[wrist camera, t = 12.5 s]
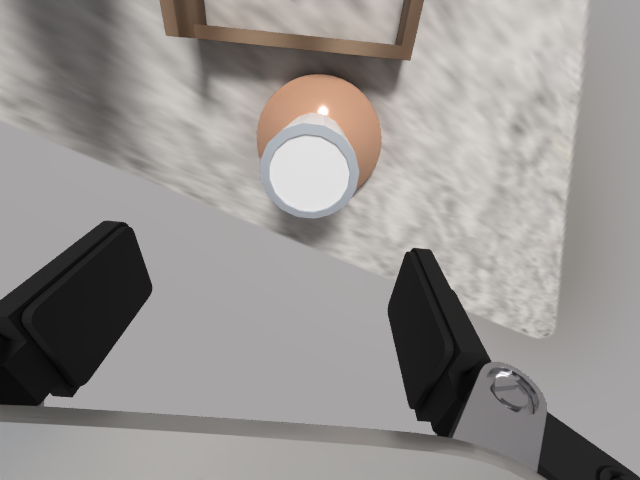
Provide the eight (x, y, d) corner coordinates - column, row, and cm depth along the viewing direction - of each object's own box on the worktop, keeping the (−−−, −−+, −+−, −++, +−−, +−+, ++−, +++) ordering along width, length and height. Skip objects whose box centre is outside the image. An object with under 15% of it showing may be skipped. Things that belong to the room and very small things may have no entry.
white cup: (282, 185, 27) (269, 222, 21) (269, 108, 23) (248, 128, 18) (353, 180, 27) (360, 216, 21) (351, 100, 23) (358, 118, 17)
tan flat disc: (261, 192, 29) (259, 196, 28) (256, 66, 23) (254, 67, 22) (367, 202, 29) (368, 206, 28) (392, 80, 23) (394, 81, 22)
